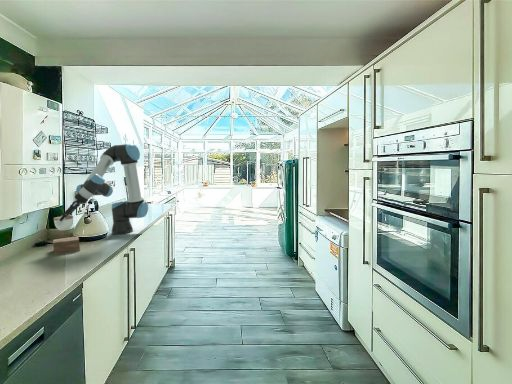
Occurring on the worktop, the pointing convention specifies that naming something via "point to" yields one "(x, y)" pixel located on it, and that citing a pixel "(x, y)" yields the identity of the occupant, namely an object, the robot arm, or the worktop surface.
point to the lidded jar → (64, 223)
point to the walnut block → (66, 245)
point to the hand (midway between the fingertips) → (58, 223)
